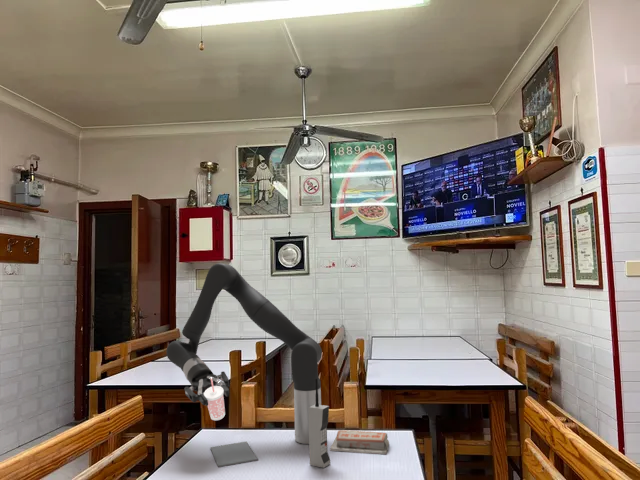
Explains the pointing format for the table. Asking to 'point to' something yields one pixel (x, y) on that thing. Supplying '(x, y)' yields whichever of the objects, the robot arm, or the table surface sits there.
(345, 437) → the packaged product
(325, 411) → the vintage mobile phone
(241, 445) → the mat
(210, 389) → the beverage cup
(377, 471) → the table surface
